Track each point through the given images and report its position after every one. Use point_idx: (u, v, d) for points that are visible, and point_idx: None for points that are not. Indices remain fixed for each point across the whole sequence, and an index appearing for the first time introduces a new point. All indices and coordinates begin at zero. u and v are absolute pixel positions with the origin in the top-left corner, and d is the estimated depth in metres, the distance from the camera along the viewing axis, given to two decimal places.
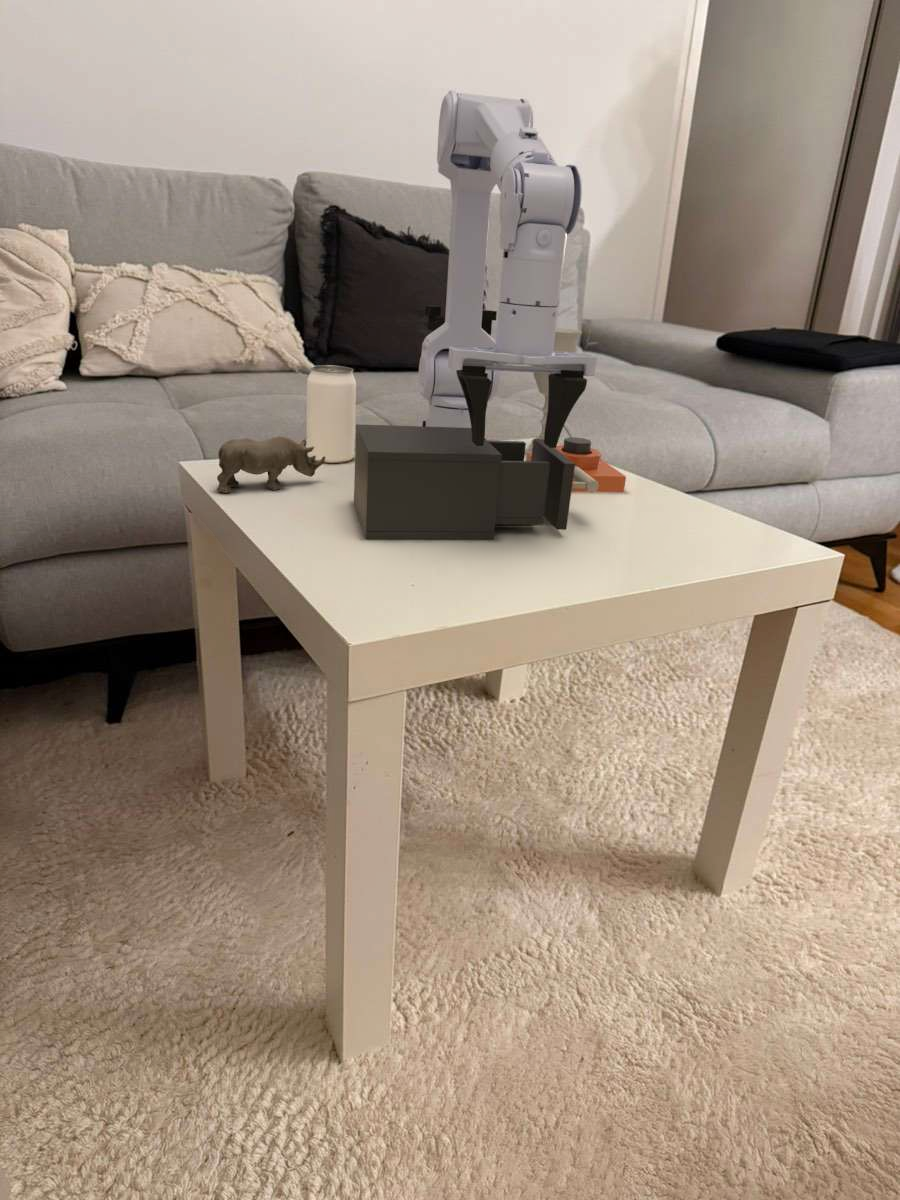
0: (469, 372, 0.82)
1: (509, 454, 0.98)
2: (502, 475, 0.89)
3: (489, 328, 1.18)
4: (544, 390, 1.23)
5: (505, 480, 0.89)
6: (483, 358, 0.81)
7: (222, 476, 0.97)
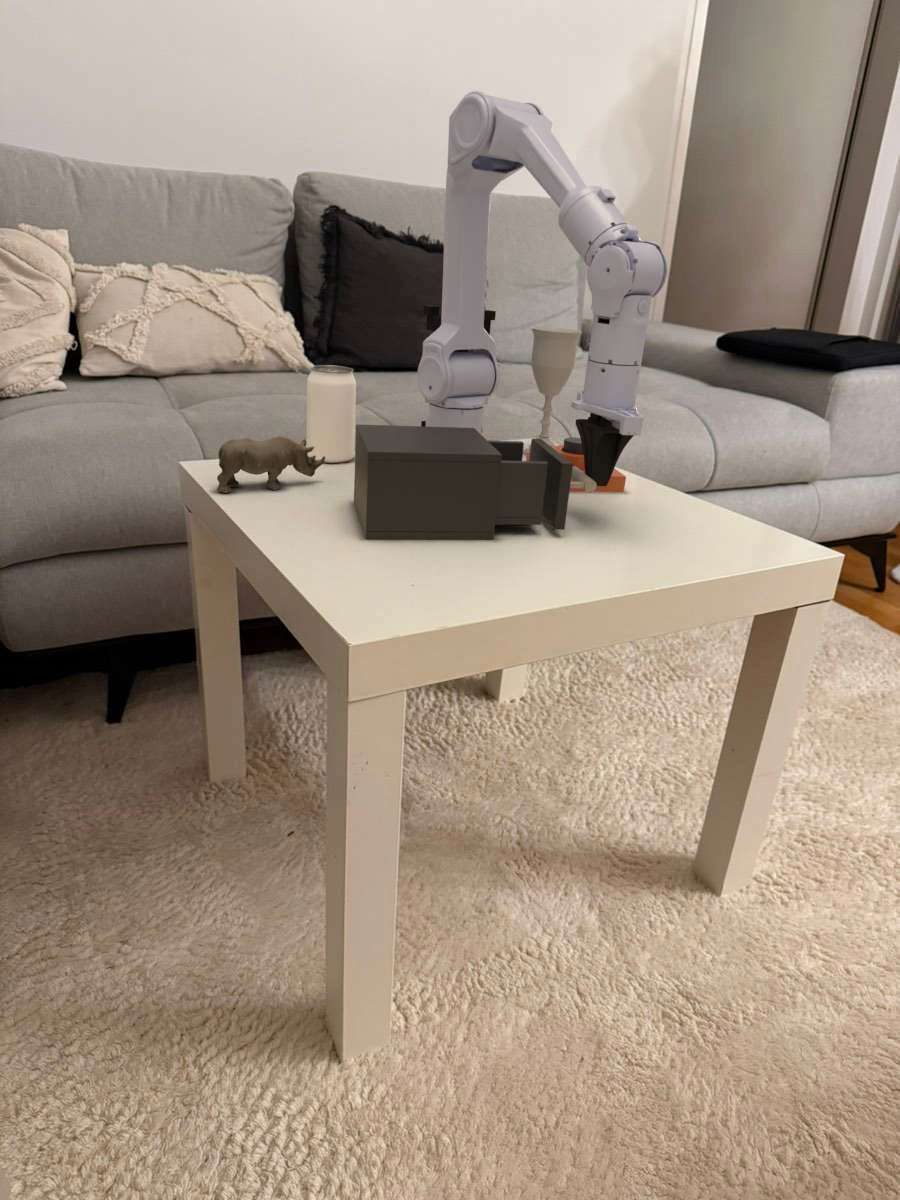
0: (591, 418, 0.95)
1: (507, 454, 0.98)
2: (500, 475, 0.89)
3: (488, 328, 1.18)
4: (544, 390, 1.23)
5: (503, 480, 0.89)
6: None
7: (222, 476, 0.97)
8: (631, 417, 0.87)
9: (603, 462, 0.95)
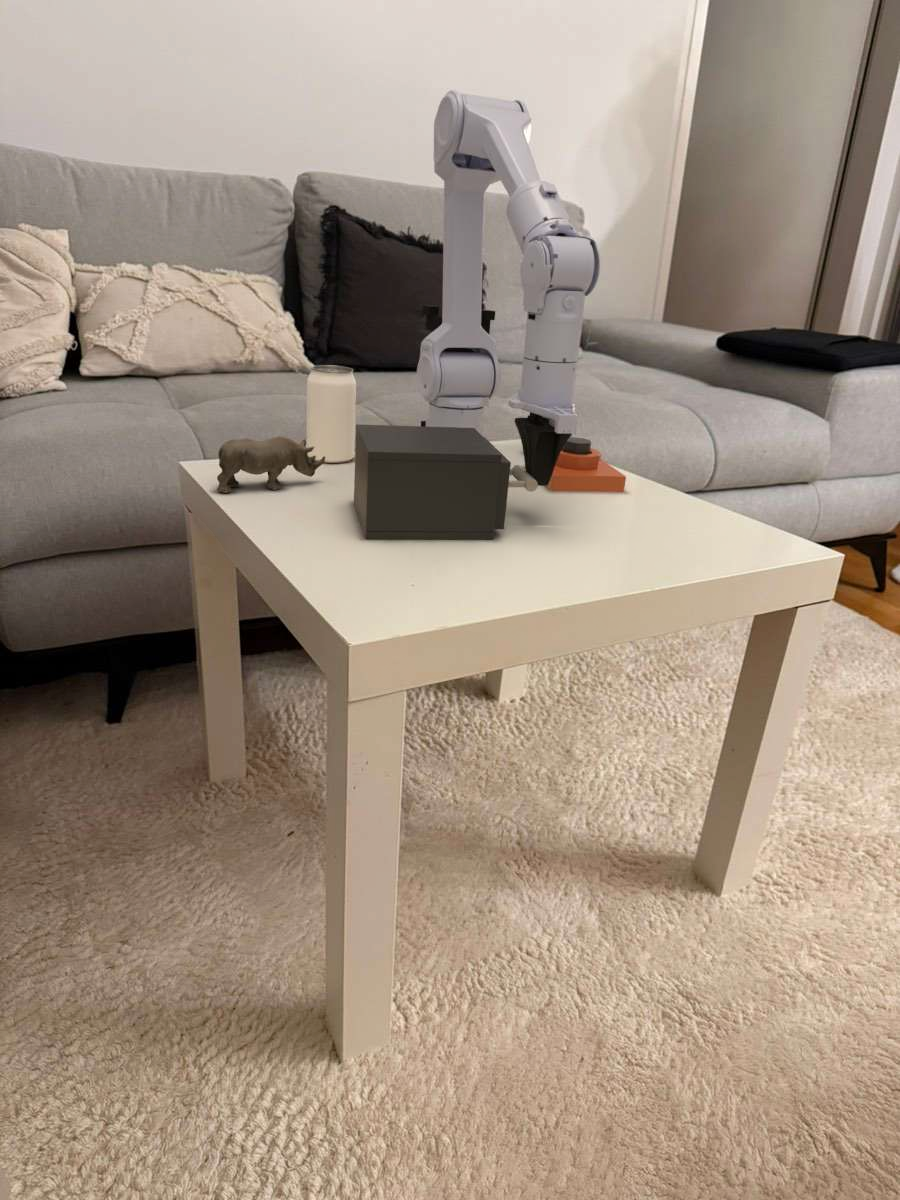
0: (530, 416, 0.94)
1: None
2: None
3: (488, 328, 1.18)
4: None
5: None
6: None
7: (222, 476, 0.97)
8: (565, 415, 0.85)
9: (543, 461, 0.93)
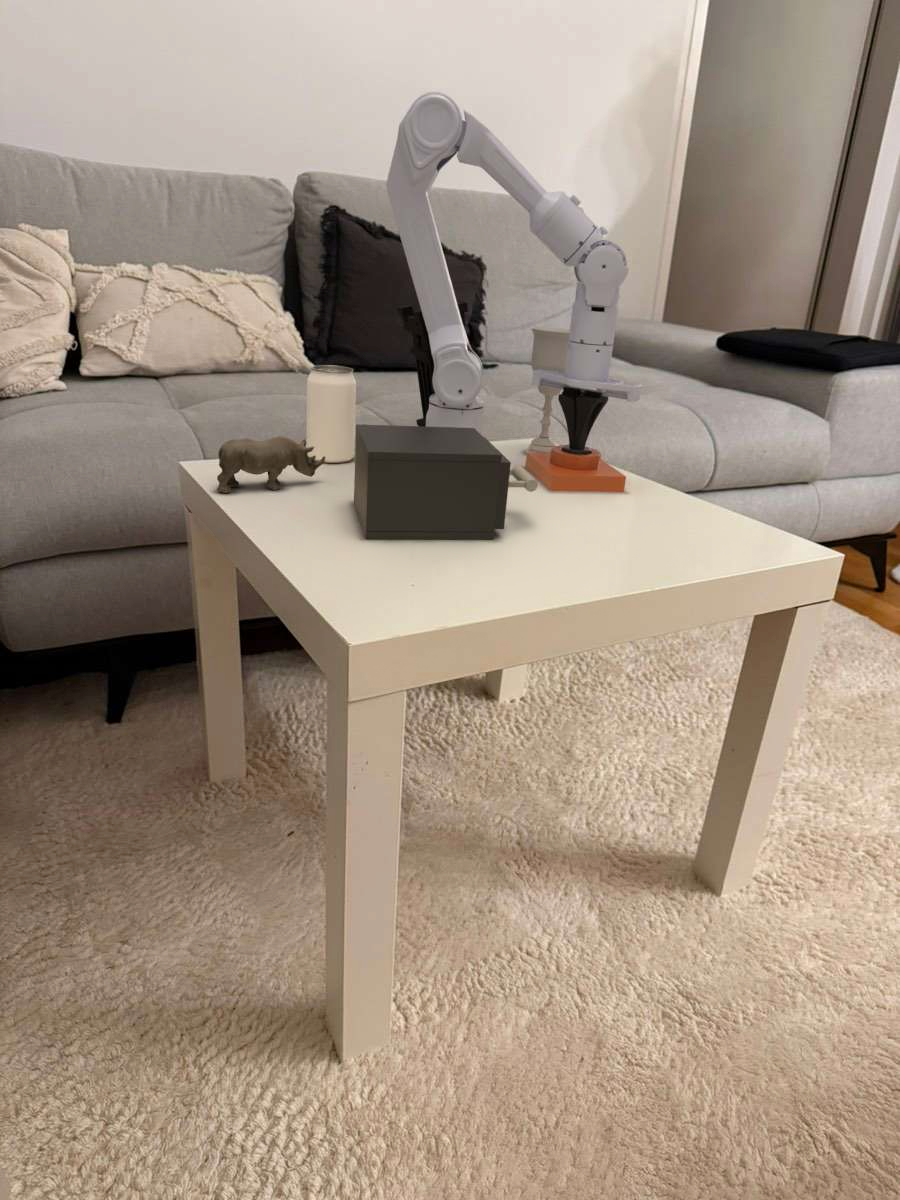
0: (567, 392, 1.11)
1: None
2: None
3: (462, 320, 1.15)
4: (544, 390, 1.23)
5: None
6: (549, 378, 1.11)
7: (222, 476, 0.97)
8: (637, 386, 1.06)
9: (585, 428, 1.12)
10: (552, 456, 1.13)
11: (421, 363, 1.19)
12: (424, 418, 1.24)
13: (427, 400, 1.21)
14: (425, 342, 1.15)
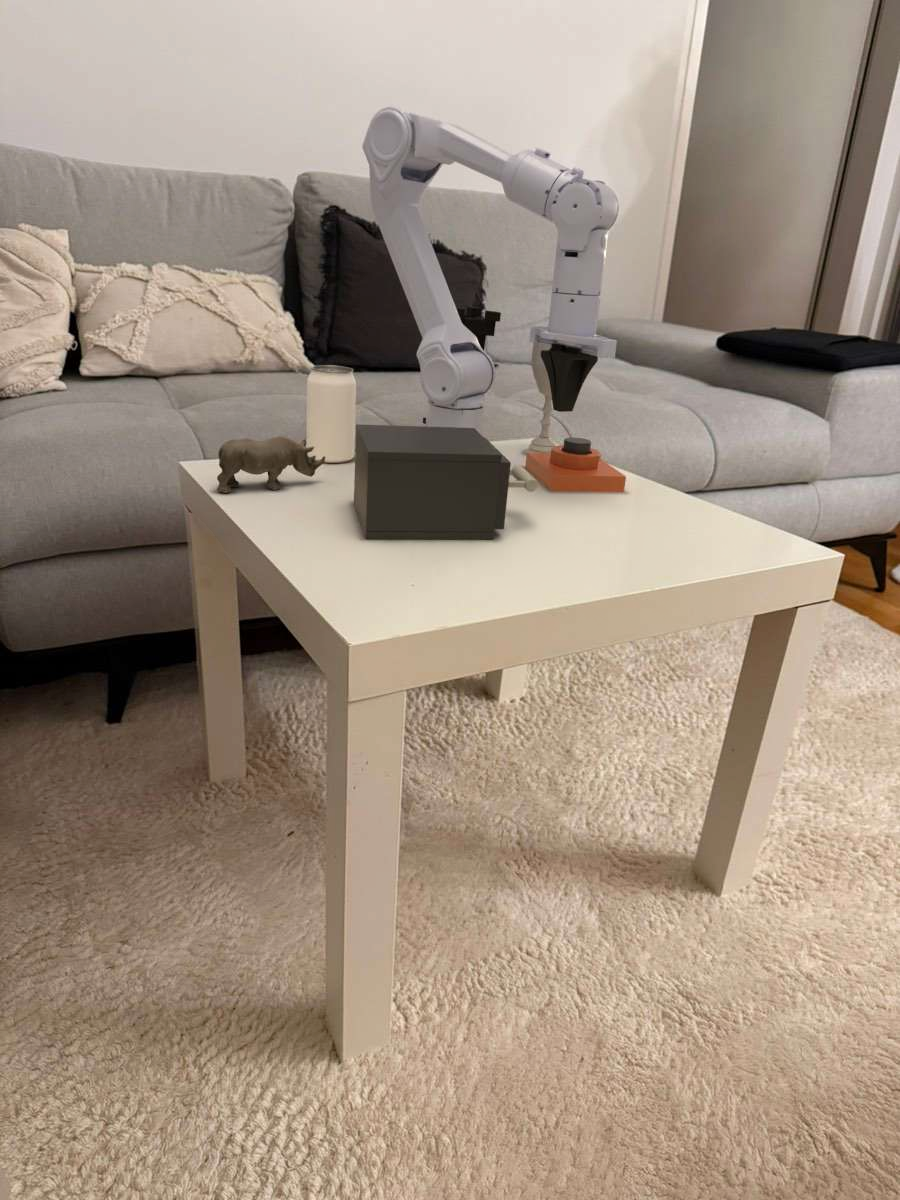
0: (553, 348, 1.03)
1: None
2: None
3: (492, 329, 1.17)
4: (544, 390, 1.23)
5: None
6: (538, 333, 1.04)
7: (222, 476, 0.97)
8: (608, 341, 0.95)
9: (570, 388, 1.03)
10: (552, 456, 1.13)
11: None
12: None
13: None
14: None
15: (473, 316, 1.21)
